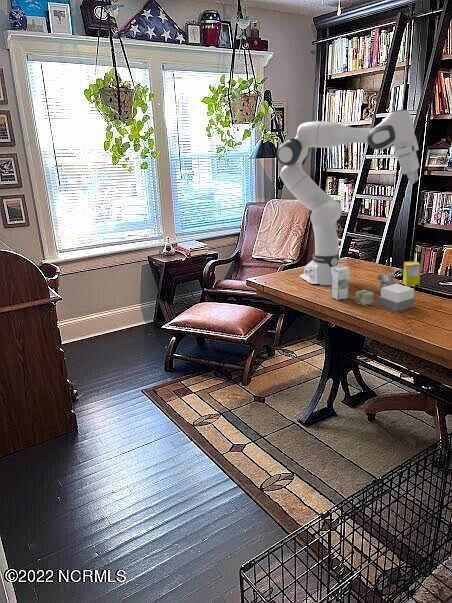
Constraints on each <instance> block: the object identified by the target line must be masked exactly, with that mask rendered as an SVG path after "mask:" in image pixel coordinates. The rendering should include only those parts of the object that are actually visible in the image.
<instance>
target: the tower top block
mask: <svg viewBox="0 0 452 603" xmlns="http://www.w3.org/2000/svg"><path fill="white" fill-rule="evenodd" d="M414 293H415V287H413V288H410V287H407V286H404V285H403V284H400V283H394V284H393V285H390V286H386V287H383V288H381V294H380V296H381V297H382V298H385V299H388V300H391V301H394V302H397V303H399V302H402V301H405V300H408V299H411V298H415V297H414V296H415V294H414Z"/></svg>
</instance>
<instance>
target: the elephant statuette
mask: <svg viewBox="0 0 452 603" xmlns="http://www.w3.org/2000/svg"><path fill="white" fill-rule="evenodd" d="M376 278H377V279H376V280H378V281H379V287H378V288H377V291H378V293H379V295H381V288H383V287H386V286H390V285H393V284H398V281H397V280H396V279H395V274H393V273H390V274H388V273H387V274H378V275H377V277H376Z"/></svg>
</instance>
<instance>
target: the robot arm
mask: <svg viewBox="0 0 452 603" xmlns="http://www.w3.org/2000/svg"><path fill="white" fill-rule="evenodd" d="M413 122H414V121H413V119H412V115H411V114H410V112H409V110H406V109H404V108H403V109H398V110H397V109H396V110H393V111H389V112H388V114H387V115H386V117H385V118H383V120H382V121H381V122H380V123H378V124H377V125H375V126H374V127H372V128H369V127H364V128H363V127H351V126H348V125H343V124H340V123H336V122H333V121H324V120H321V121H320V120H318V121H317V120H316V121H307V122H302V123H301V124H300V125H299V126H298V128H297V131H296V136H295V137H290V138H289V139H287V140H286V141H283V143H281V144H280V145H279V146H278V148H277V150H276V158H277V161H278V162H279V163H280V164H282V165H283V166H282V168H281V169H280V172H279V177H280V179H281V182H283V184H284V185H285V187H286V188H287V189H288V191H289V192H290V193H291V194H292V195H293V196H294V197H295V198H296V200H298V202H299V203H300V204H301V205H303V206H305V207H306V208H308V209H309V210H311V213H310V216H309V217H310V222H311V224H312V228H313V229H312V230H313V233H314V234H313V235H314V253H311V257H312V260H311V261H310V262H308V263H307V264H306V265H305V266H304V268H303V273H302V274H300V275H299V278H300V277H301V278H302V279H301V278H300V279H301V280H303V279H304V280H306V281H307V282H306V281H305V282H306V283H308V282H309V283H311V284H320V285H319V286H331V268H332V267H334V266H340V262H339V261H340V253H339V236H338V232H337V231H338V230H337V224H336V223H337V221H338V220H339V219H340V217H341V216H342V213H343V212H342V211H343V208H342V207H343V206H342V205H341V204H340V202H339V201H337V200H335V199H334V198H333V197H332V196H331V195H329V194H328V193H327V192H325V191H324V189H322V188H321V187H320V186H319V185H317V183H316V182H315V181H314V180H313V179H312V178H311V177H310V176H309V174H308V173H307V172H306V171H304V169H303V167H302V166H304V165H305V163H306V161H307V159H308V157H309V155H310V152H311V148H321V149H322V148H323V149H324V148H326V149H327V148H334V147H339V146H342V145H348V144H354V143H355V144H368V145H369V147H370V148H371V149H374V150H384V149H385V150H387V149H390V148H392V147H393V148H394V154H395V158H397V160H398V163H399V167H400V169H401V172H402V174H403V175H406V176H407V179H408V182H409V184H410V185H413V184H415V183H416V182H417V181H419V175H418V169H419V168H420V163H419V158H418V155H417V151H419V150H420V149H419V144H418V140H417V137H416V136H417V135H415V128H414V123H413ZM304 280H303V281H304ZM309 283H308V284H309ZM311 284H310V285H311Z"/></svg>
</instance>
